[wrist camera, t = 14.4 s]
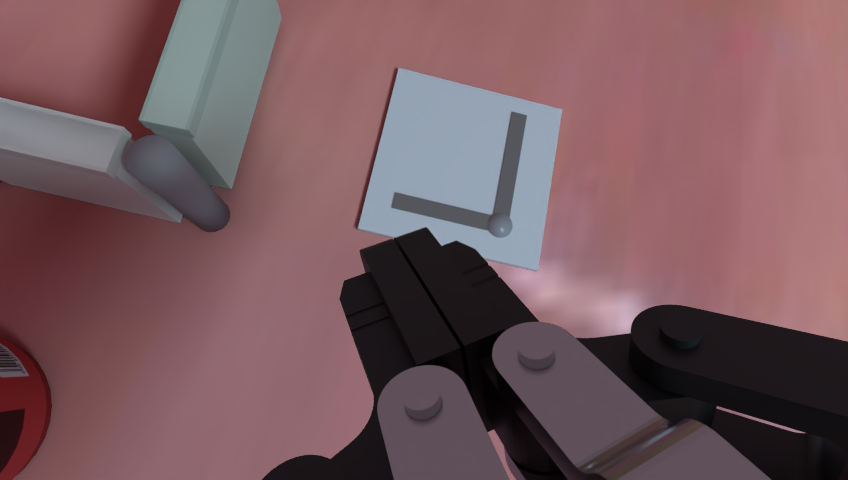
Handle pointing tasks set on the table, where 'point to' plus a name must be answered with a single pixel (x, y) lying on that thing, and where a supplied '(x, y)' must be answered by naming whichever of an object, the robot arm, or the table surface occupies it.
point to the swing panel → (212, 82)
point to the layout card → (464, 168)
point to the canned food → (21, 409)
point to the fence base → (103, 166)
